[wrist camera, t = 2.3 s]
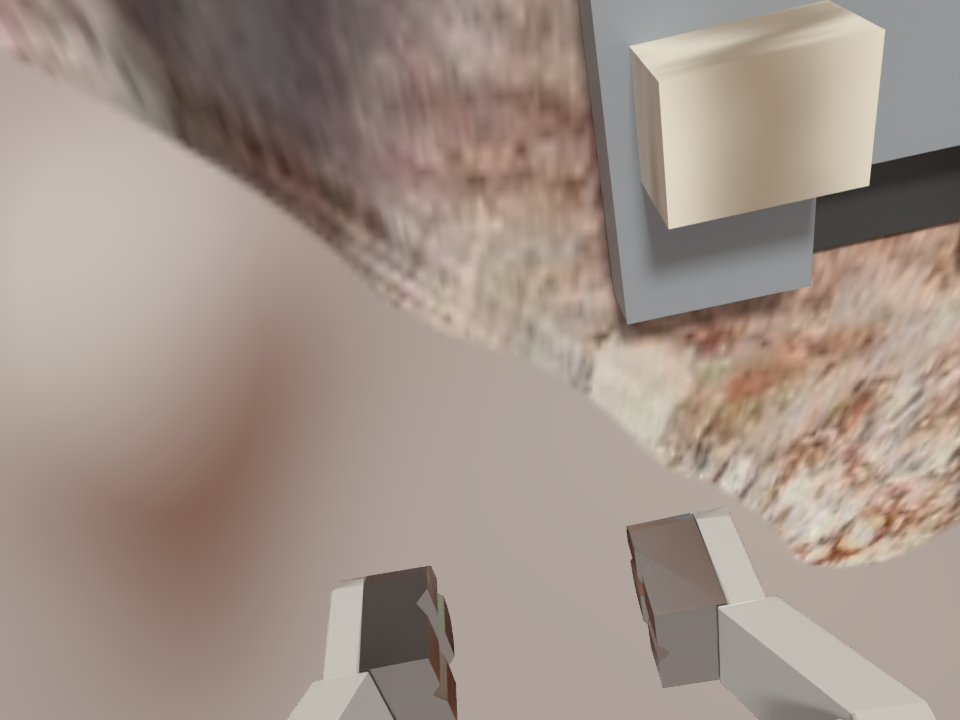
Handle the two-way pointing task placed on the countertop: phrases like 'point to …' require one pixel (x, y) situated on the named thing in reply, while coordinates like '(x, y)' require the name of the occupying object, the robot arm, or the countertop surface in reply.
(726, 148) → the cream block
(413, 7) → the countertop surface
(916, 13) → the track
